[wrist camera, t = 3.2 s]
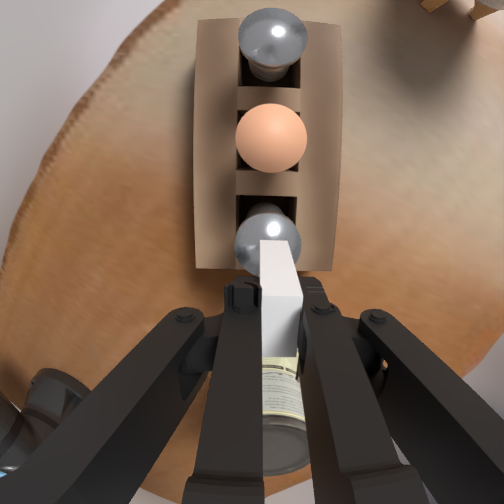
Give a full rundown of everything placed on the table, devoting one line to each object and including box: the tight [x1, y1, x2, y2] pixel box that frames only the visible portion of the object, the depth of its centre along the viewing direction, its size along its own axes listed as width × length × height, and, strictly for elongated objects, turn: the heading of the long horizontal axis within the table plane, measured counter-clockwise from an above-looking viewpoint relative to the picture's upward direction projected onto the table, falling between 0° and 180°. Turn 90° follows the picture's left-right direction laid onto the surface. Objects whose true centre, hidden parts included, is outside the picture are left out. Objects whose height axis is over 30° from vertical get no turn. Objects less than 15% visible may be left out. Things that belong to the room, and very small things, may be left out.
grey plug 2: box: [234, 202, 302, 277], centre depth 24 cm, size 4×4×7 cm
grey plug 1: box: [238, 8, 308, 82], centre depth 19 cm, size 4×4×7 cm
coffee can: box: [262, 348, 310, 476], centre depth 31 cm, size 10×10×14 cm
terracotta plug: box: [235, 104, 307, 173], centre depth 21 cm, size 4×4×7 cm
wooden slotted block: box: [193, 18, 343, 271], centre depth 26 cm, size 12×22×6 cm, turn 179°
